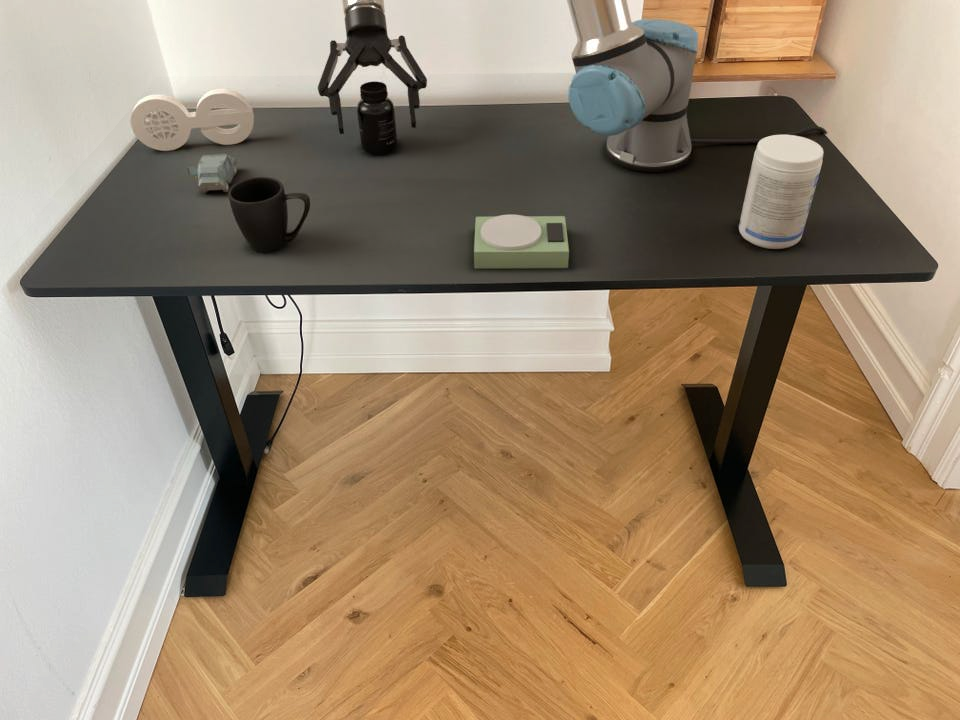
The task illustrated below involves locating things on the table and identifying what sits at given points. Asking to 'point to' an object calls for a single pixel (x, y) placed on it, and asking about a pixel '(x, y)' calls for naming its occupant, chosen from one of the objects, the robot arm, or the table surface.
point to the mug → (264, 212)
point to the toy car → (214, 172)
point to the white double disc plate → (191, 119)
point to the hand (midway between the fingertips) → (377, 128)
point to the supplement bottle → (376, 119)
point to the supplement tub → (780, 190)
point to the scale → (521, 242)
